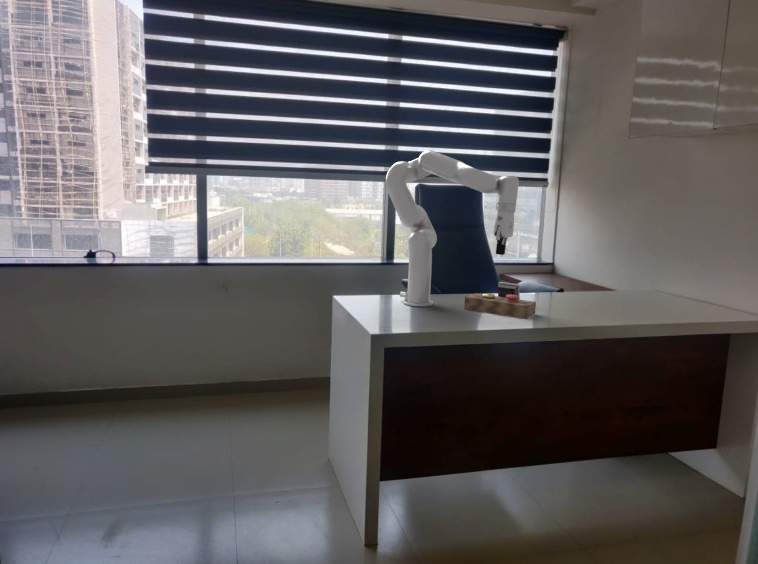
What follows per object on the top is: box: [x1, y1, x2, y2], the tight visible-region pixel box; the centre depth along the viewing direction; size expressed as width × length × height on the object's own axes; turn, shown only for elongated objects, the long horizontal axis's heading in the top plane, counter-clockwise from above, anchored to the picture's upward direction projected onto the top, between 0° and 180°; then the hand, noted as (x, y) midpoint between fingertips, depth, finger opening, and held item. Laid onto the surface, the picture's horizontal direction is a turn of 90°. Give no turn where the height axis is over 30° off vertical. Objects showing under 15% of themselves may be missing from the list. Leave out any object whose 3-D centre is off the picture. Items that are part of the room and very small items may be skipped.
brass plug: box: [481, 292, 496, 299], centre depth 228 cm, size 5×5×6 cm
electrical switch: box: [497, 281, 521, 300], centre depth 242 cm, size 9×5×9 cm, turn 57°
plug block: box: [463, 292, 537, 320], centre depth 225 cm, size 26×11×5 cm, turn 58°
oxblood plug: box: [506, 295, 519, 303], centre depth 222 cm, size 5×5×6 cm
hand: (500, 254), depth 221 cm, fingers closed
